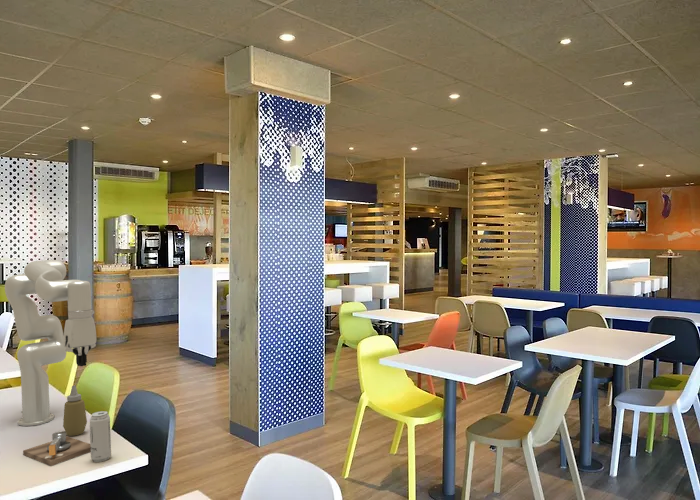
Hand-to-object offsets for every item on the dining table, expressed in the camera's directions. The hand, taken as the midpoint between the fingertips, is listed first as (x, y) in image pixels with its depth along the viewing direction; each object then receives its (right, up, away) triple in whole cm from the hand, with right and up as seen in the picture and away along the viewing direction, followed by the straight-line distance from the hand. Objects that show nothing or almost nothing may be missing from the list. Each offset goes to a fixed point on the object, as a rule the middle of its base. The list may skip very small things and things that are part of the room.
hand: (81, 365), depth 192 cm
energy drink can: (+15, -27, -18) cm, 36 cm away
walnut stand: (-2, -27, -11) cm, 30 cm away
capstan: (-1, -26, -15) cm, 30 cm away
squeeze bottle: (-6, -27, +7) cm, 29 cm away
